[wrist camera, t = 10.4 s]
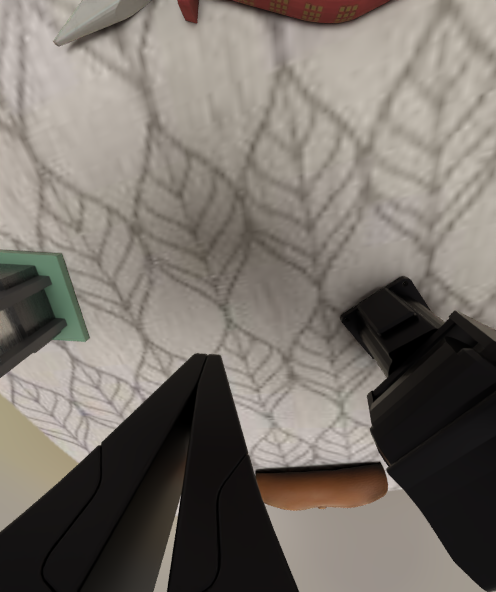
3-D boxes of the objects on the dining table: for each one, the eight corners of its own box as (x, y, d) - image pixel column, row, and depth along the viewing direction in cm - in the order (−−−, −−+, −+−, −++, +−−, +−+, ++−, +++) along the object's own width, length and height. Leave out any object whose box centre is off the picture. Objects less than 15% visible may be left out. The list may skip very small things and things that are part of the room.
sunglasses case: (263, 497, 38) (261, 537, 31) (257, 453, 38) (253, 483, 32) (378, 490, 36) (400, 532, 29) (369, 444, 36) (390, 474, 30)
